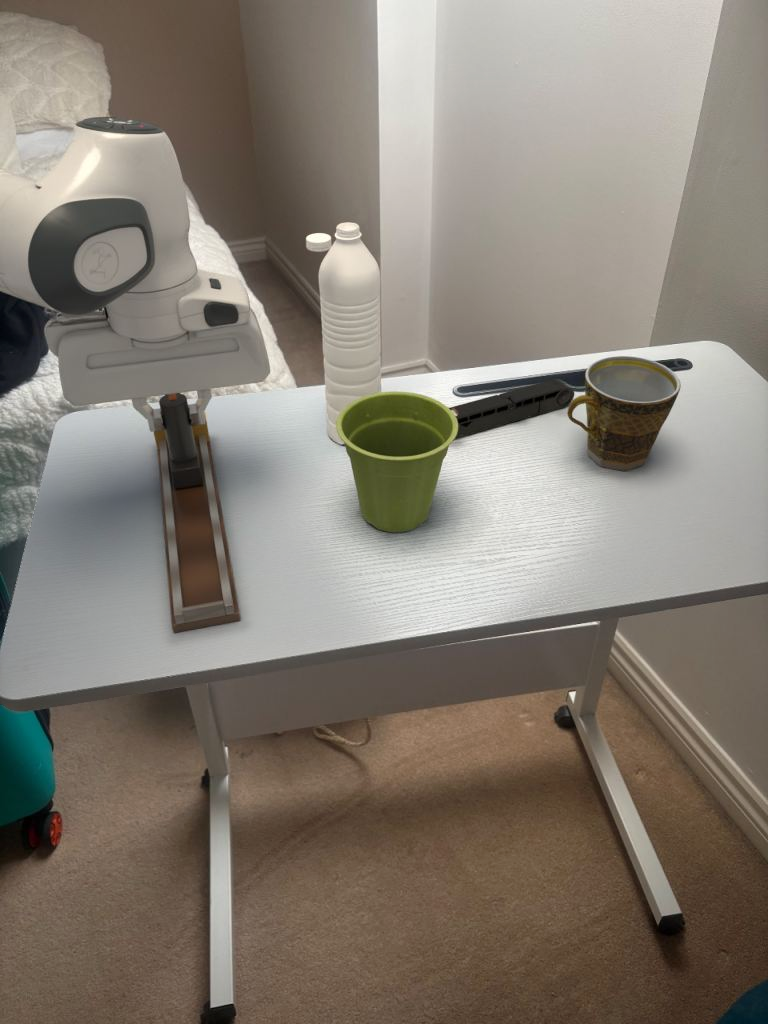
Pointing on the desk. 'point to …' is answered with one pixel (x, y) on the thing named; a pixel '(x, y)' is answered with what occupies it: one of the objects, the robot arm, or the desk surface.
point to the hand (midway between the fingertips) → (178, 425)
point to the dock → (196, 431)
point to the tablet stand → (512, 406)
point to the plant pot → (396, 454)
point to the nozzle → (180, 441)
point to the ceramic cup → (625, 409)
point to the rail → (196, 547)
